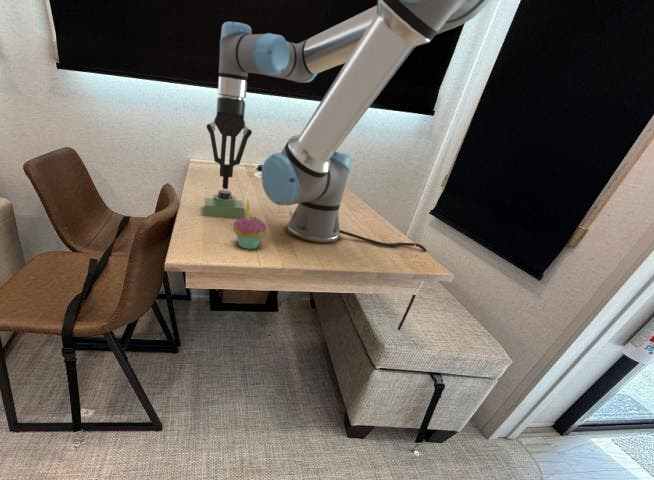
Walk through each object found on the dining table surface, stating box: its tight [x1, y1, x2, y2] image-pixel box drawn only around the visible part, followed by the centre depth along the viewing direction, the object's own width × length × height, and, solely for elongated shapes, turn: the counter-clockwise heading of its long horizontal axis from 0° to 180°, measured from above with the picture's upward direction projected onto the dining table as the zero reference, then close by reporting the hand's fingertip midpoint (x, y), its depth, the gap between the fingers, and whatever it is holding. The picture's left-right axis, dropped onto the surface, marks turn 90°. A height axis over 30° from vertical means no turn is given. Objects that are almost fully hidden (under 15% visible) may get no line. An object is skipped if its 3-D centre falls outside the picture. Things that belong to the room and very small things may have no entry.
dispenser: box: [204, 193, 245, 219], centre depth 103 cm, size 12×8×5 cm, turn 97°
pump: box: [217, 189, 232, 199], centre depth 101 cm, size 4×4×2 cm
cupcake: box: [232, 198, 268, 250], centre depth 81 cm, size 9×8×12 cm
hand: (225, 187), depth 100 cm, fingers closed
